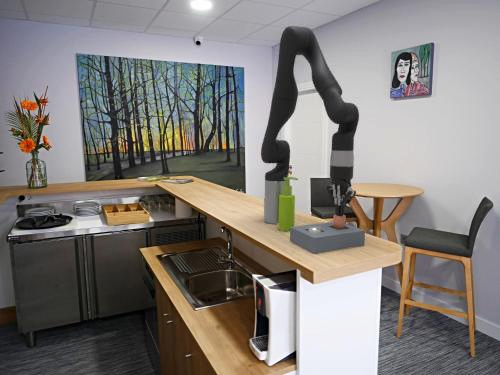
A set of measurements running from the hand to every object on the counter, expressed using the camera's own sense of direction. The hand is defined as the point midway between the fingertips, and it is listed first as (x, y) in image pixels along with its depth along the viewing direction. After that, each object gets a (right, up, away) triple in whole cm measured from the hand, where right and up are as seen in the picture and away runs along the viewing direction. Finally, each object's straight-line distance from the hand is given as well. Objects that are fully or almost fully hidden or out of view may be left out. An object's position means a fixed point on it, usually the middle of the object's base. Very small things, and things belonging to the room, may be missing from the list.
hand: (339, 215), depth 125 cm
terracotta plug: (0, -5, +1) cm, 5 cm away
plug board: (-5, -9, -1) cm, 10 cm away
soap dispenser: (-16, -7, +16) cm, 24 cm away
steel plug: (-9, -9, -3) cm, 13 cm away
